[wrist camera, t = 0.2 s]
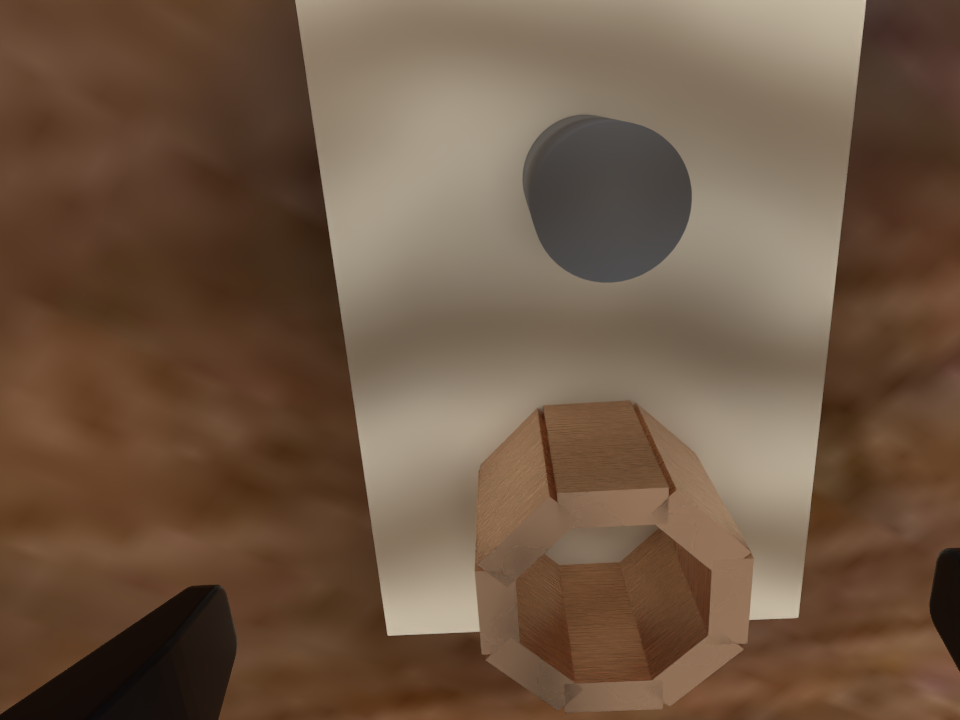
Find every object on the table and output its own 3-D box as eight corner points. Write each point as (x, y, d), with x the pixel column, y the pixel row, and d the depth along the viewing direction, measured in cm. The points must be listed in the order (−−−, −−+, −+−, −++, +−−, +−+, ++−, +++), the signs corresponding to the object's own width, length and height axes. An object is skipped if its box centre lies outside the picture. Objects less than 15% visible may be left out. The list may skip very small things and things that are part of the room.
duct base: (781, 588, 25) (873, 745, 19) (393, 606, 26) (362, 764, 20) (843, -46, 18) (1018, -117, 12) (308, -3, 19) (220, -49, 13)
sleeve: (692, 583, 23) (742, 705, 19) (488, 593, 24) (487, 716, 19) (700, 396, 21) (760, 482, 16) (473, 409, 21) (468, 497, 17)
